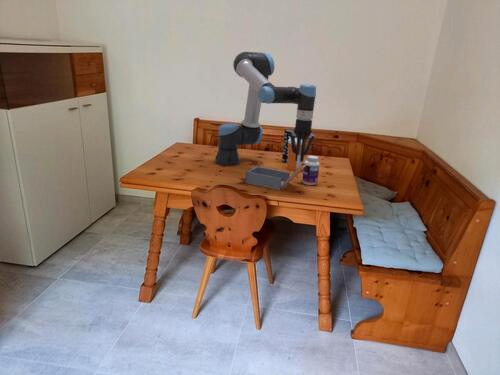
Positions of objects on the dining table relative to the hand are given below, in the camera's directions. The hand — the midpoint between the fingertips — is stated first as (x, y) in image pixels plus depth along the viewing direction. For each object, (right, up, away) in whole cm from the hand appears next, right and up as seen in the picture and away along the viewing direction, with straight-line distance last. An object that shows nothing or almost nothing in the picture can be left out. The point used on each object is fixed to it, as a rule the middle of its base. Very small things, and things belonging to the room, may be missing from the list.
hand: (298, 167), depth 170 cm
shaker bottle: (+2, +1, +39) cm, 39 cm away
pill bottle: (+8, -8, +14) cm, 18 cm away
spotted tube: (+1, +7, +53) cm, 54 cm away
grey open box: (-15, -8, +10) cm, 19 cm away
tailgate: (-5, -8, +5) cm, 11 cm away
